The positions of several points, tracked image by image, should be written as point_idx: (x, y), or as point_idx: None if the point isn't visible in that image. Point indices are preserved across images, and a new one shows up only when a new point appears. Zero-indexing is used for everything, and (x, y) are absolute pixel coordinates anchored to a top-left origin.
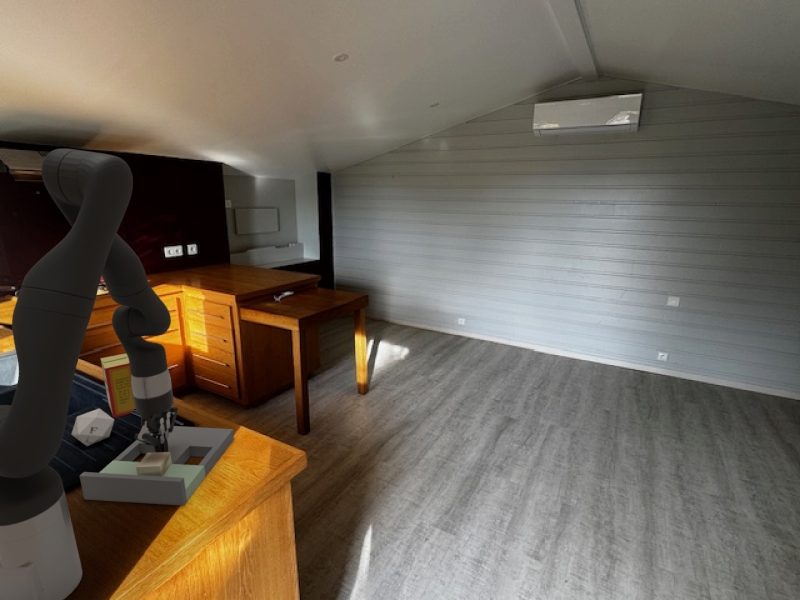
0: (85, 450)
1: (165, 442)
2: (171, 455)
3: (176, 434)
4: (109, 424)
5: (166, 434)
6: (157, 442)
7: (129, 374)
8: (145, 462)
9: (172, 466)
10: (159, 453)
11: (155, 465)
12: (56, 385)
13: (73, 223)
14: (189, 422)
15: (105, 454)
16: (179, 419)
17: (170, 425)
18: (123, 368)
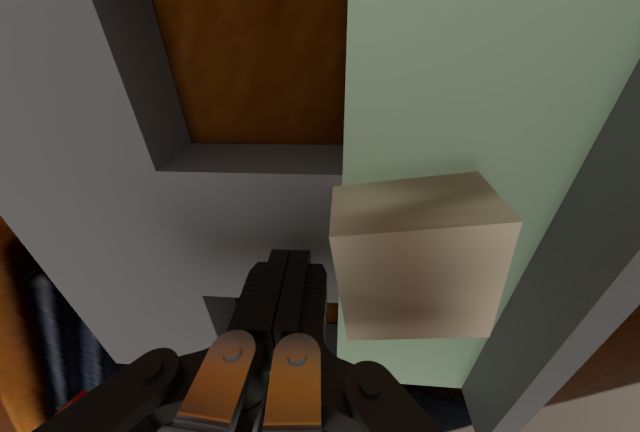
0: (265, 408)
1: (271, 318)
2: (268, 221)
3: (113, 277)
4: None
5: (229, 378)
6: (375, 396)
7: None
8: (448, 316)
9: (368, 164)
10: (351, 289)
11: (502, 254)
12: None
13: None
14: (16, 265)
15: (269, 378)
16: (31, 300)
17: (119, 428)
18: None
